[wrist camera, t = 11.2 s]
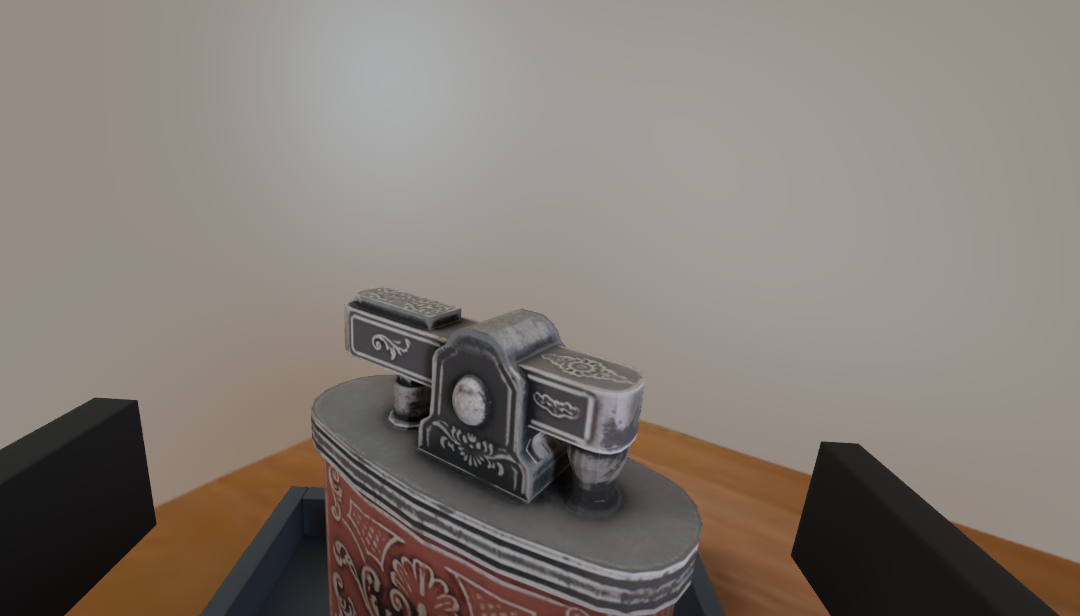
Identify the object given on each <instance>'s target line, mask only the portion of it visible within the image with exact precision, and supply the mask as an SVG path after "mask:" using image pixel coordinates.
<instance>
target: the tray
mask: <svg viewBox="0 0 1080 616" xmlns="http://www.w3.org/2000/svg"><path fill="white" fill-rule="evenodd" d="M200 616H330V608H329V583H328V559H327V534H326V509H325V488H316V487H310V488H308V487H295V486H292V487H290V489H289V490H288V492H287V493H286V495H285V496H284V497H283V499H282V500H281V502H280V503H279V504H278V506H277V507H276V509H275V510H274V511H273V513H272V514H271V516H270V517H269V518H268V520H267V521H266V523H265V524H264V526H263V527H262V528H261V530H260V531H259V533H258V534H257V535H256V537H255V538H254V540H253V541H252V542H251V544H250V545H249V547H248V548H247V549H246V551H245V552H244V554H243V555H242V557H241V558H240V559H239V561H238V562H237V564H236V565H235V566H234V568H233V569H232V571H231V572H230V573H229V575H228V576H227V578H226V579H225V580H224V582H223V583H222V585H221V586H220V588H219V589H218V590H217V592H216V593H215V595H214V596H213V597H212V599H211V600H210V602H209V603H208V604H207V606H206V607H205V609H204V610H203V611H202V613H201V614H200ZM673 616H726V615H725V613H724V611H723V608H722V606H721V604H720V602H719V599H718V597H717V595H716V593H715V590H714V588H713V586H712V584H711V581H710V579H709V577H708V575H707V572H706V570H705V568H704V566H703V563H702V561H701V559H700V556H699V554H698V552H697V555H696V559H695V564H694V569H693V574H692V579H691V584H690V586H689V587H688V588H687V589H686V591H685V592H684V593H683V595H682V596H681V597H680V598H679V600H678V601H677V602H676V603H675V605H674V610H673Z"/></svg>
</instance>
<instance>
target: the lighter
mask: <svg viewBox="0 0 1080 616" xmlns="http://www.w3.org/2000/svg"><path fill="white" fill-rule="evenodd" d="M354 298H355V299H354V300H351V301H348V302H346V303H345V304H344V306H345V344H346V345H345V346H346V352H347V353H348V354H350V355H352V356H354V357H356V358H359V359H361V360H364V361H366V362H369V363H371V364H374V365H376V366H378V367H381V368H383V369H386V370H389V371H391V372H393V373H396V374H398V375H376V376H368V377H362V378H357V379H354V380H350V381H346V382H343V383H340V384H338V385H336V386H334V387H332V388H330V389H328V390H326V391H324V392H323V393H322V394H321V395H319V396H318V397H317V398H316V399H315V400H314V403H313V405H312V407H311V421H312V442H313V444H314V446H315V448H316V451H317V452H318V453H319V454H320V455H321V456H322V457H323V460H324V485H325V509H326V534H327V559H328V583H329V608H330V616H673V610H674V605H675V603H676V602H677V601H678V600H679V598H680V597H681V596H682V595H683V593H684V592H685V591H686V589H687V588H688V587H689V586H690V584H691V579H692V574H693V569H694V564H695V559H696V555H697V550H698V545H699V540H700V535H701V530H702V525H703V524H702V521H701V518H700V514H699V511H698V508H697V505H696V504H695V503H694V502H693V500H692V499H691V498H690V497H689V495H688V494H687V493H686V491H685V490H684V489H682V488H681V487H679V486H678V485H677V484H675V483H674V482H672V481H671V480H669V479H668V478H666V477H665V476H663V475H661V474H659V473H657V472H655V471H653V470H651V469H649V468H647V467H646V466H644V465H642V464H640V463H638V462H636V461H634V460H632V459H630V458H628V453H629V446H630V444H631V443H632V442H633V441H634V440H635V438H636V436H637V432H638V426H639V419H640V412H641V406H642V399H643V393H644V386H645V380H646V378H645V375H644V373H642V372H641V371H639V370H637V369H636V368H633V367H630V366H627V365H625V364H621V363H618V362H614V361H611V360H608V359H604V358H601V357H597V356H594V355H591V354H587V353H584V352H581V351H577V350H574V349H570V348H567V347H566V346H565V345H564V344H563V343H562V342H561V340H560V337H559V334H558V331H557V329H556V328H555V326H554V324H553V323H552V322H551V321H550V320H549V319H548V318H546V317H545V316H544V315H543V314H540V313H536V312H532V311H528V310H524V309H520V310H516V311H513V312H510V313H506V314H504V315H501V316H498V317H495V318H492V319H489V320H486V321H483V322H478V321H475V320H472V319H468V318H465V317H461V308H459V307H455V306H451V305H448V304H444V303H441V302H438V301H434V300H430V299H427V298H423V297H420V296H416V295H413V294H409V293H406V292H402V291H399V290H395V289H391V288H387V287H375V288H368V289H363V290H359V291H356V292H355V293H354Z"/></svg>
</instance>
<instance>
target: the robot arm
mask: <svg viewBox="0 0 1080 616" xmlns="http://www.w3.org/2000/svg"><path fill="white" fill-rule="evenodd" d="M155 525H156V518H155V512H154V505H153V499H152V492H151V486H150V479H149V473H148V467H147V460H146V454H145V446H144V440H143V433H142V427H141V421H140V414H139V407H138V401H137V400H124V399H108V398H107V399H106V398H93V399H92V400H90V401H88V402H86V403H84V404H82V405H81V406H79V407H77V408H75V409H73V410H72V411H70V412H68V413H66V414H64V415H62V416H61V417H59V418H57V419H55V420H54V421H52V422H50V423H48V424H46V425H45V426H43V427H41V428H39V429H37V430H35V431H34V432H32V433H30V434H28V435H26V436H24V437H23V438H21V439H19V440H17V441H15V442H14V443H12V444H10V445H8V446H6V447H5V448H3V449H1V450H0V616H64V615H65V614H66V613H67V612H68V611H69V610H70V609H71V608H72V607H73V606H74V605H75V604H76V603H77V602H78V601H79V600H80V599H81V598H83V597H84V596H85V595H86V594H87V593H88V592H89V591H90V590H91V589H92V588H93V587H94V586H95V585H96V584H97V583H98V582H99V581H100V580H101V579H102V578H103V577H104V576H105V575H106V574H107V573H108V572H109V571H110V570H111V569H112V568H113V567H114V566H115V565H116V564H117V563H118V562H119V561H120V560H121V559H122V558H123V557H124V556H125V555H126V554H127V553H128V552H129V551H130V550H131V549H132V548H133V547H134V546H135V545H136V544H137V543H138V542H139V541H140V540H141V539H142V538H143V537H144V536H145V535H146V534H147V533H148V532H149V531H150V530H151V529H152V528H153V527H154V526H155ZM791 557H792V558H793V560H794V561H795V563H796V564H797V566H798V567H799V569H800V570H801V572H802V573H803V575H804V576H805V578H806V579H807V581H808V582H809V584H810V585H811V587H812V588H813V590H814V591H815V593H816V594H817V596H818V597H819V599H820V600H821V602H822V603H823V605H824V606H825V608H826V609H827V611H828V612H829V614H830V615H831V616H1059V615H1058V614H1057V613H1056V612H1055V611H1053V610H1052V609H1051V608H1050V607H1049V606H1048V605H1046V604H1045V603H1044V602H1043V601H1042V600H1041V599H1039V598H1038V597H1037V596H1036V595H1035V594H1034V593H1032V592H1031V591H1030V590H1029V589H1028V588H1027V587H1025V586H1024V585H1023V584H1022V583H1021V582H1020V581H1018V580H1017V579H1016V578H1015V577H1014V576H1012V575H1011V574H1010V573H1009V572H1008V571H1007V570H1005V569H1004V568H1003V567H1002V566H1001V565H1000V564H998V563H997V562H996V561H995V560H994V559H993V558H991V557H990V556H989V555H988V554H987V553H986V552H984V551H983V550H982V549H981V548H980V547H979V546H977V545H976V544H975V543H974V542H973V541H972V540H970V539H969V538H968V537H967V536H966V535H965V534H963V533H962V532H961V531H960V530H959V529H958V528H956V527H955V526H954V525H953V524H952V523H951V522H949V521H948V520H947V519H946V518H945V517H944V516H942V515H941V514H940V513H939V512H938V511H936V510H935V509H934V508H933V507H932V506H931V505H929V504H928V503H927V502H926V501H925V500H923V499H922V498H921V497H920V496H919V495H918V494H917V493H915V492H914V491H913V490H912V489H911V488H910V487H908V486H907V485H906V484H905V483H904V482H903V481H901V480H900V479H899V478H898V477H897V476H895V475H894V474H893V473H892V472H891V471H890V470H889V469H887V468H886V467H885V466H884V465H883V464H882V463H880V462H879V461H878V460H877V459H876V458H874V457H873V456H872V455H871V454H870V453H868V452H867V451H866V450H865V449H864V448H863V447H862V446H860V445H859V444H854V443H837V442H821V444H820V449H819V452H818V456H817V459H816V463H815V467H814V470H813V474H812V478H811V482H810V485H809V489H808V493H807V497H806V500H805V504H804V508H803V512H802V515H801V519H800V523H799V527H798V530H797V534H796V538H795V542H794V546H793V549H792V553H791Z"/></svg>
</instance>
